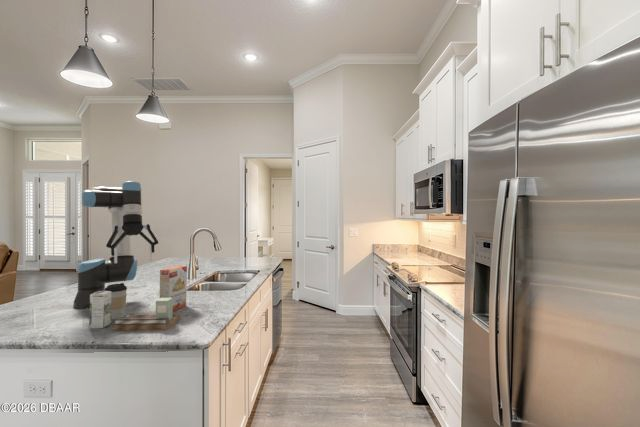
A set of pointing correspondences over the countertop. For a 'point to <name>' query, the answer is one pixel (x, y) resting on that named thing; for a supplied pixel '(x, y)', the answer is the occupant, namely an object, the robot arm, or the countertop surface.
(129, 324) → the shelf board
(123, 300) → the coffee cup
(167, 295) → the cracker box
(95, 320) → the syrup box
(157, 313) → the pale green box
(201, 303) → the countertop surface
